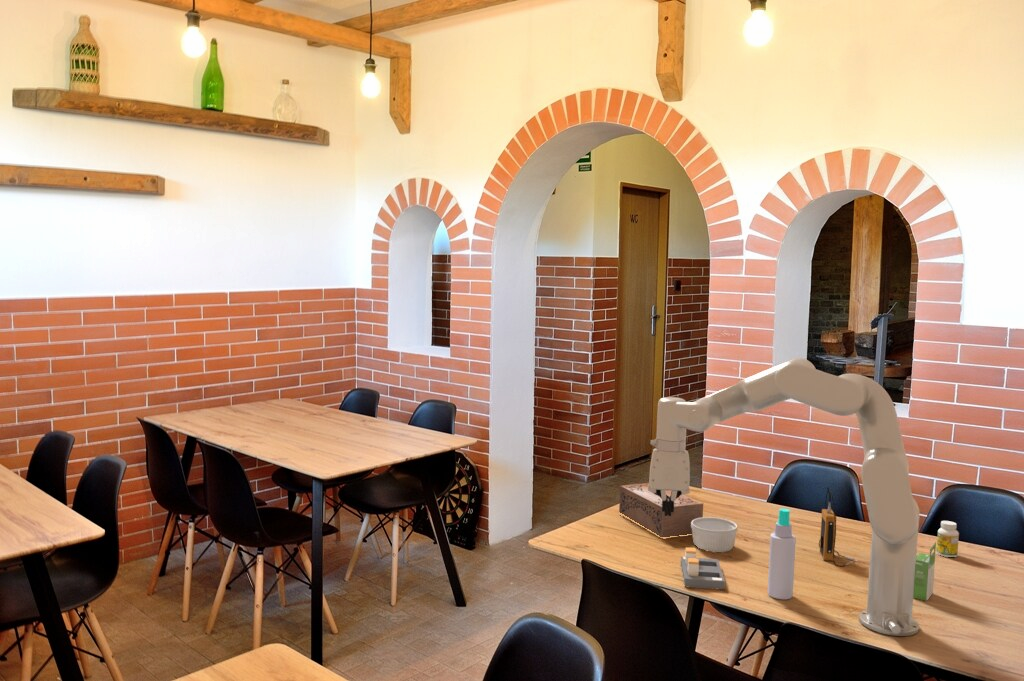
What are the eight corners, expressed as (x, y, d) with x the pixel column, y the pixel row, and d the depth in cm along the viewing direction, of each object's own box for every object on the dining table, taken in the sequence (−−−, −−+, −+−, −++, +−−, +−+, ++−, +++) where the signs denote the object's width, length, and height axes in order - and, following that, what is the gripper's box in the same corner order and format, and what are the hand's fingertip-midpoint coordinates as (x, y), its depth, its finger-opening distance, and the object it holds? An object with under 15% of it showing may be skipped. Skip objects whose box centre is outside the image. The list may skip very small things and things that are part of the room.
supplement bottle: (961, 557, 235) (963, 524, 235) (946, 558, 234) (949, 526, 233) (946, 551, 241) (948, 519, 240) (932, 552, 239) (934, 520, 238)
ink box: (916, 589, 211) (920, 538, 210) (933, 593, 209) (937, 542, 207) (909, 597, 206) (913, 545, 205) (926, 601, 203) (930, 549, 202)
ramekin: (689, 551, 236) (690, 528, 235) (690, 537, 248) (691, 515, 248) (737, 556, 233) (738, 532, 232) (735, 541, 245) (736, 519, 245)
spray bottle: (782, 602, 201) (787, 515, 199) (762, 594, 206) (766, 509, 204) (797, 596, 205) (802, 511, 203) (777, 588, 209) (781, 505, 207)
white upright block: (698, 581, 211) (698, 562, 211) (687, 580, 212) (688, 561, 211) (697, 577, 214) (698, 558, 214) (687, 576, 215) (687, 557, 214)
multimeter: (864, 569, 225) (868, 498, 223) (825, 565, 227) (829, 495, 225) (852, 551, 239) (857, 484, 237) (817, 548, 241) (820, 481, 239)
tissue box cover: (619, 515, 269) (620, 485, 269) (656, 511, 275) (657, 482, 274) (661, 540, 246) (663, 507, 245) (701, 535, 251) (703, 503, 250)
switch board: (724, 589, 208) (724, 581, 208) (684, 586, 209) (684, 578, 209) (717, 567, 224) (718, 558, 224) (680, 564, 225) (680, 556, 225)
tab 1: (695, 570, 219) (696, 551, 219) (685, 569, 220) (686, 551, 219) (694, 566, 222) (695, 548, 222) (684, 565, 222) (685, 547, 222)
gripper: (641, 446, 208) (638, 516, 210) (701, 450, 206) (698, 521, 208) (641, 440, 216) (638, 508, 217) (699, 443, 214) (695, 512, 215)
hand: (667, 514), depth 213 cm, fingers closed
